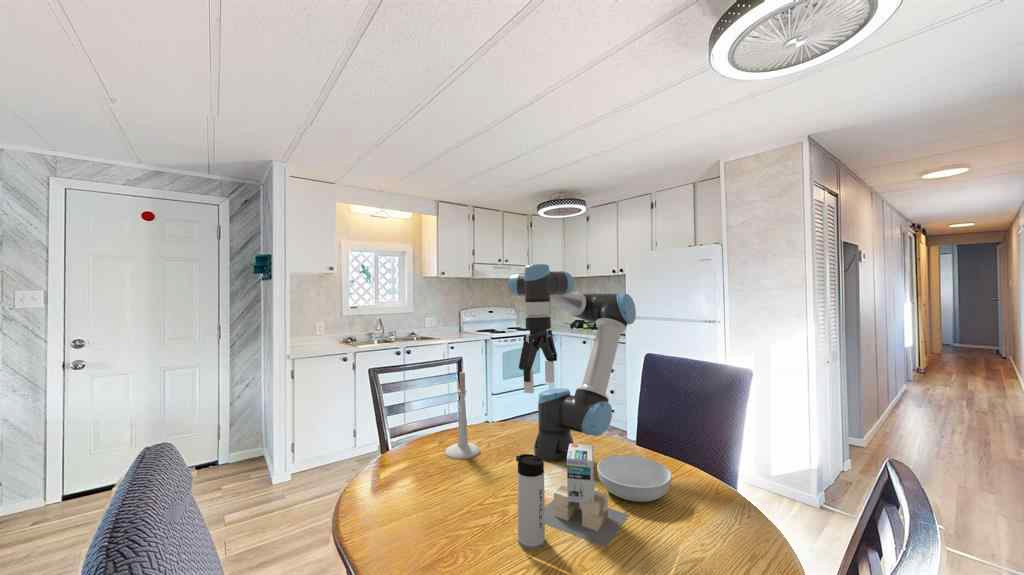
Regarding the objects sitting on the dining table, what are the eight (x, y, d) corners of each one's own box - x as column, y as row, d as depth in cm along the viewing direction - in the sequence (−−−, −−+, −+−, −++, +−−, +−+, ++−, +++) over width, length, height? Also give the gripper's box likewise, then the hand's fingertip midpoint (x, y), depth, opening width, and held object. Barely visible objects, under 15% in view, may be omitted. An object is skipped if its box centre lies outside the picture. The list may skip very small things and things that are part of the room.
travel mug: (515, 535, 94) (514, 452, 94) (542, 533, 95) (541, 450, 95) (518, 552, 88) (517, 463, 88) (547, 550, 88) (546, 461, 89)
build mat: (561, 494, 113) (561, 493, 113) (629, 516, 102) (629, 514, 102) (531, 520, 100) (531, 518, 100) (606, 548, 89) (606, 547, 89)
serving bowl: (583, 494, 113) (583, 470, 114) (618, 470, 129) (617, 449, 129) (653, 521, 99) (653, 494, 100) (683, 491, 115) (682, 467, 115)
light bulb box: (594, 505, 95) (593, 460, 96) (566, 502, 97) (566, 458, 97) (594, 484, 106) (593, 444, 106) (569, 482, 107) (568, 442, 108)
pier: (593, 513, 103) (593, 490, 103) (608, 517, 100) (607, 494, 101) (582, 525, 97) (581, 501, 97) (597, 531, 95) (597, 506, 95)
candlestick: (482, 457, 140) (481, 373, 141) (446, 460, 137) (446, 375, 138) (477, 444, 153) (476, 367, 153) (444, 447, 150) (444, 369, 150)
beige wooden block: (566, 503, 107) (566, 481, 107) (579, 508, 105) (579, 485, 105) (554, 515, 102) (553, 492, 102) (567, 520, 99) (567, 496, 99)
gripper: (545, 313, 129) (547, 377, 129) (504, 319, 107) (507, 396, 107) (566, 313, 125) (568, 379, 125) (528, 319, 103) (531, 399, 103)
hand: (539, 387), depth 116 cm, fingers open, 13 cm apart
